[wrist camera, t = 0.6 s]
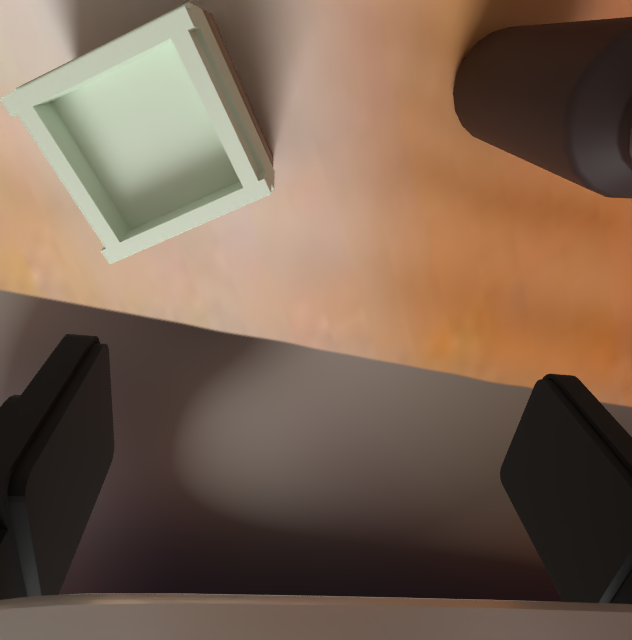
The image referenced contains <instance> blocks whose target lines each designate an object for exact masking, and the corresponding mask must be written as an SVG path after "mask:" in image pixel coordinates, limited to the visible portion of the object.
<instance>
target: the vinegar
mask: <svg viewBox="0 0 632 640" xmlns="http://www.w3.org/2000/svg"><path fill="white" fill-rule="evenodd" d="M453 96H454V105H455V111H456V114H457V116H458V118H459V120H460V122H461V124H462V126H463V127H464V128H465V129H466V130H467V131H468V132H469V133H470V134H471V135H472V136H474V137H476V138H478V139H480V140H482V141H484V142H487V143H489V144H491V145H493V146H495V147H498V148H500V149H502V150H504V151H506V152H508V153H511V154H513V155H515V156H517V157H519V158H521V159H524V160H526V161H528V162H530V163H532V164H535V165H537V166H539V167H541V168H543V169H545V170H548V171H550V172H552V173H554V174H556V175H559V176H561V177H563V178H565V179H567V180H569V181H572V182H574V183H576V184H578V185H580V186H582V187H585V188H587V189H589V190H592V191H594V192H596V193H598V194H601V195H603V196H605V197H611V198H632V17H626V18H614V19H602V20H590V21H578V22H566V23H555V24H543V25H531V26H519V27H509V28H506V29H502V30H499V31H495V32H493V33H491V34H490V35H488V36H487V37H485V38H484V39H482V40H481V41H479V42H478V43H477V44H476V45H475V46H474V47H473V48H472V50H471V51H470V52H469V53H468V54H467V56H466V57H465V58H464V60H463V62H462V64H461V66H460V68H459V71H458V73H457V75H456V80H455V86H454V91H453Z"/></svg>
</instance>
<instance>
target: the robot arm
mask: <svg viewBox="0 0 632 640" xmlns="http://www.w3.org/2000/svg"><path fill="white" fill-rule="evenodd" d="M113 454H114V431H113V414H112V396H111V379H110V362H109V348H108V345H107V344H100V342H99V339H98V337H97V336H87V335H75V334H67V335H65V337H64V338H63V339H62V340H61V342H60V343H59V344H58V346H57V347H56V348H55V350H54V351H53V353H52V354H51V355H50V357H49V358H48V359H47V361H46V362H45V364H44V365H43V366H42V367H41V369H40V370H39V371H38V373H37V374H36V375H35V377H34V378H33V380H32V381H31V382H30V384H29V385H28V386H27V388H26V389H25V391H24V392H23V393H22V394H21V395H13V396H11V397H9V398H8V399H7V400H6V401H5V402H4V403H3V405H2V406H1V407H0V640H632V437H631V436H630V435H629V434H628V433H627V432H626V431H625V430H624V429H623V427H622V426H621V425H620V424H619V423H618V422H617V421H616V420H615V419H614V417H612V415H611V414H610V413H609V412H608V411H607V410H606V409H605V408H604V406H603V405H602V404H601V403H600V402H599V401H598V400H597V399H596V398H595V397H594V395H593V394H592V393H591V392H590V391H589V390H588V389H587V388H586V387H585V386H584V385H583V383H582V382H581V381H580V380H579V379H578V378H577V377H575V376H571V375H558V374H547V375H546V376H545V377H543V379H541V380H538V381H537V382H536V384H535V386H534V388H533V391H532V393H531V396H530V398H529V400H528V403H527V405H526V408H525V410H524V413H523V415H522V417H521V420H520V422H519V425H518V427H517V430H516V432H515V435H514V437H513V440H512V442H511V444H510V447H509V449H508V452H507V454H506V457H505V459H504V462H503V464H502V466H501V471H500V478H501V482H502V485H503V486H504V488H505V490H506V492H507V494H508V496H509V498H510V500H511V502H512V504H513V506H514V508H515V510H516V512H517V514H518V516H519V517H520V519H521V521H522V523H523V525H524V527H525V529H526V531H527V533H528V535H529V537H530V539H531V541H532V543H533V544H534V546H535V548H536V550H537V552H538V554H539V556H540V558H541V560H542V562H543V564H544V566H545V568H546V570H547V571H548V573H549V575H550V577H551V579H552V581H553V583H554V585H555V587H556V589H557V591H558V593H559V594H560V597H561V598H562V601H563V602H542V601H541V602H540V601H508V600H507V601H506V600H471V599H469V600H467V599H427V598H385V597H384V598H382V597H338V596H285V595H224V594H70V595H59V593H60V590H61V588H62V585H63V583H64V580H65V578H66V575H67V573H68V570H69V568H70V565H71V563H72V560H73V558H74V555H75V553H76V550H77V547H78V545H79V543H80V540H81V538H82V535H83V533H84V530H85V528H86V525H87V523H88V520H89V518H90V515H91V513H92V510H93V508H94V505H95V503H96V500H97V497H98V495H99V493H100V490H101V487H102V485H103V483H104V480H105V477H106V475H107V473H108V470H109V467H110V465H111V462H112V459H113Z"/></svg>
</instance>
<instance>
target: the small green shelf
mask: <svg viewBox="0 0 632 640" xmlns="http://www.w3.org/2000/svg"><path fill="white" fill-rule="evenodd" d="M0 101H1V102H2V104H3V105H4V107H5V108H6V110H7V111H8V113H9V114H10V116H11V117H13V116H17V115H18V116H19V118H20V119H21V121H22V122H23V124H24V125H25V127H26V128H27V130H28V131H29V133H30V134H31V136H32V137H33V139H34V141H35V142H36V144H37V145H38V147H39V148H40V150H41V151H42V153H43V154H44V156H45V157H46V159H47V160H48V162H49V163H50V165H51V166H52V168H53V169H54V171H55V172H56V174H57V175H58V177H59V178H60V180H61V181H62V183H63V184H64V186H65V188H66V189H67V191H68V192H69V194H70V195H71V197H72V198H73V200H74V201H75V203H76V204H77V206H78V207H79V209H80V210H81V212H82V213H83V215H84V216H85V218H86V219H87V221H88V222H89V224H90V225H91V227H92V228H93V230H94V232H95V233H96V235H97V236H98V238H99V239H100V241H101V242H102V244H103V245H104V248H103V249H102V250H101V252H102V254H103V255H104V257H105V258H106V260H107V261H108V263H109V264H112V263H115V262H117V261H119V260H121V259H124V258H126V257H128V256H131V255H133V254H135V253H137V252H140V251H142V250H144V249H147V248H149V247H151V246H153V245H156V244H158V243H160V242H163V241H165V240H167V239H169V238H172V237H174V236H176V235H179V234H181V233H183V232H186V231H188V230H190V229H192V228H195V227H197V226H199V225H202V224H204V223H206V222H208V221H211V220H213V219H215V218H218V217H220V216H222V215H224V214H227V213H229V212H231V211H234V210H236V209H238V208H240V207H243V206H245V205H247V204H250V203H252V202H254V201H256V200H259V199H261V198H263V197H266V196H268V195H270V194H271V191H272V190H274V174H275V171H274V169H273V167H272V164H271V162H270V160H269V158H268V155H267V153H266V151H265V149H264V147H263V144H262V142H261V140H260V138H259V135H258V133H257V131H256V129H255V126H254V124H253V122H252V120H251V117H250V115H249V113H248V111H247V109H246V106H245V104H244V102H243V100H242V97H241V95H240V93H239V91H238V88H237V86H236V84H235V82H234V80H233V77H232V75H231V73H230V71H229V68H228V66H227V64H226V62H225V59H224V57H223V55H222V53H221V50H220V48H219V46H218V44H217V42H216V39H215V37H214V35H213V33H212V30H211V28H210V26H209V24H208V21H207V19H206V17H205V15H204V13H203V10H202V9H201V8H199V7H197V6H196V5H194V4H192V3H190V2H187V3H185V4H183V5H181V6H179V7H177V8H175V9H173V10H171V11H169V12H167V13H165V14H163V15H161V16H159V17H157V18H155V19H153V20H151V21H149V22H147V23H145V24H143V25H141V26H139V27H137V28H135V29H133V30H131V31H129V32H127V33H125V34H123V35H121V36H119V37H117V38H115V39H113V40H111V41H109V42H107V43H105V44H103V45H101V46H99V47H97V48H95V49H93V50H91V51H89V52H87V53H85V54H83V55H81V56H79V57H77V58H75V59H73V60H71V61H69V62H67V63H65V64H63V65H61V66H59V67H57V68H55V69H53V70H51V71H49V72H47V73H45V74H43V75H41V76H39V77H37V78H35V79H33V80H31V81H29V82H27V83H25V84H23V85H21V86H19V87H17V88H16V91H14V92H12V93H10V94H8V95H6V96H4V97H2V98H0Z"/></svg>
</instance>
